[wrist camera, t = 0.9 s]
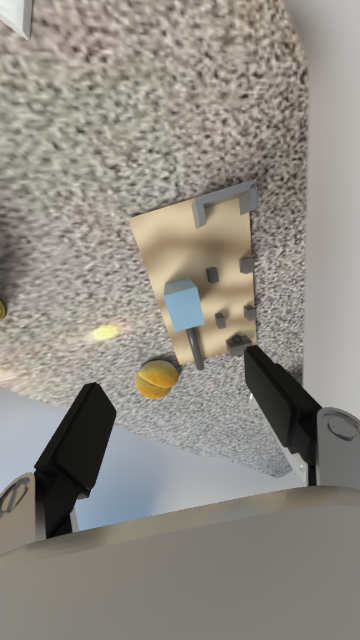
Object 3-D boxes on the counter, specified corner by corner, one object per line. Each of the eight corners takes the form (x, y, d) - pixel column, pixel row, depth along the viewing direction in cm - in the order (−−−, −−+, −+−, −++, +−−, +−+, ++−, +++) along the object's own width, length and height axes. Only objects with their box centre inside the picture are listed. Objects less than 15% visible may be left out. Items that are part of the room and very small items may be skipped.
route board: (254, 345, 31) (264, 356, 28) (180, 365, 32) (181, 377, 29) (244, 183, 20) (258, 171, 17) (129, 219, 21) (123, 214, 18)
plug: (209, 364, 31) (220, 392, 25) (191, 368, 32) (196, 398, 25) (189, 277, 24) (196, 286, 17) (164, 284, 24) (163, 296, 18)
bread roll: (184, 367, 33) (186, 381, 29) (163, 393, 35) (162, 409, 32) (150, 351, 30) (147, 365, 27) (130, 380, 33) (125, 396, 29)
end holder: (245, 213, 21) (257, 208, 18) (195, 228, 21) (199, 225, 18) (244, 188, 20) (256, 178, 17) (191, 204, 20) (194, 197, 17)
